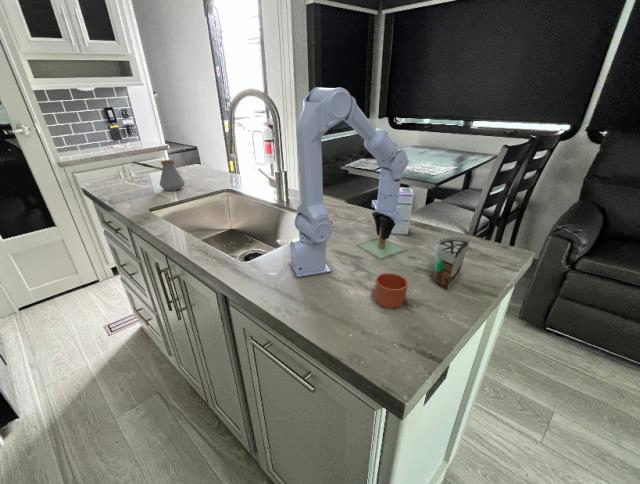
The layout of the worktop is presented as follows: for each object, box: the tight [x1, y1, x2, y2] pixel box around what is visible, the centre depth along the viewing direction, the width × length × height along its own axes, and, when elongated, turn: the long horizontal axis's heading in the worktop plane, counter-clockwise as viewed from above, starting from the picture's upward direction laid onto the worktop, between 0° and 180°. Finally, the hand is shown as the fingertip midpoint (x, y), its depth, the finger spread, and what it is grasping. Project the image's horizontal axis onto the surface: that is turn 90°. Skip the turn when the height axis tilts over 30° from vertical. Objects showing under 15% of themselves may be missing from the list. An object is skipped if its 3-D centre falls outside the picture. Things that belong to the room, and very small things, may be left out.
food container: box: [433, 236, 470, 290], centre depth 82 cm, size 12×6×10 cm, turn 141°
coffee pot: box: [131, 159, 186, 192], centre depth 150 cm, size 21×12×15 cm, turn 131°
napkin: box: [358, 238, 405, 259], centre depth 100 cm, size 10×10×1 cm
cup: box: [373, 272, 409, 309], centre depth 76 cm, size 7×7×5 cm
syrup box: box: [391, 186, 415, 235], centre depth 107 cm, size 6×6×14 cm
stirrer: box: [378, 224, 387, 249], centre depth 97 cm, size 2×2×9 cm
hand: (382, 236), depth 98 cm, fingers closed on stirrer, 2 cm apart
